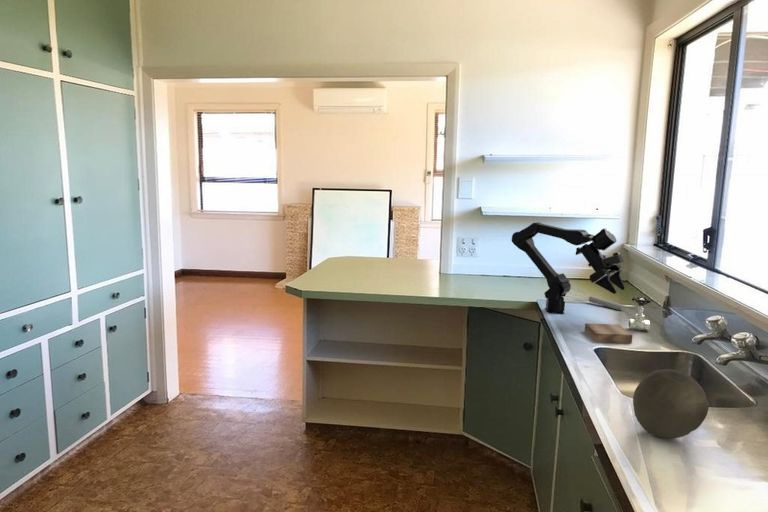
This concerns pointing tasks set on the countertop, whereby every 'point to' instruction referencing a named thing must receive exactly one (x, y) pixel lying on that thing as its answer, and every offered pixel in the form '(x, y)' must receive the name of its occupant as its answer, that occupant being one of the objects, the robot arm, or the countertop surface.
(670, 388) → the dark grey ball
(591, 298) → the kitchen whisk
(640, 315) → the valve
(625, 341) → the walnut plinth
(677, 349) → the countertop surface
